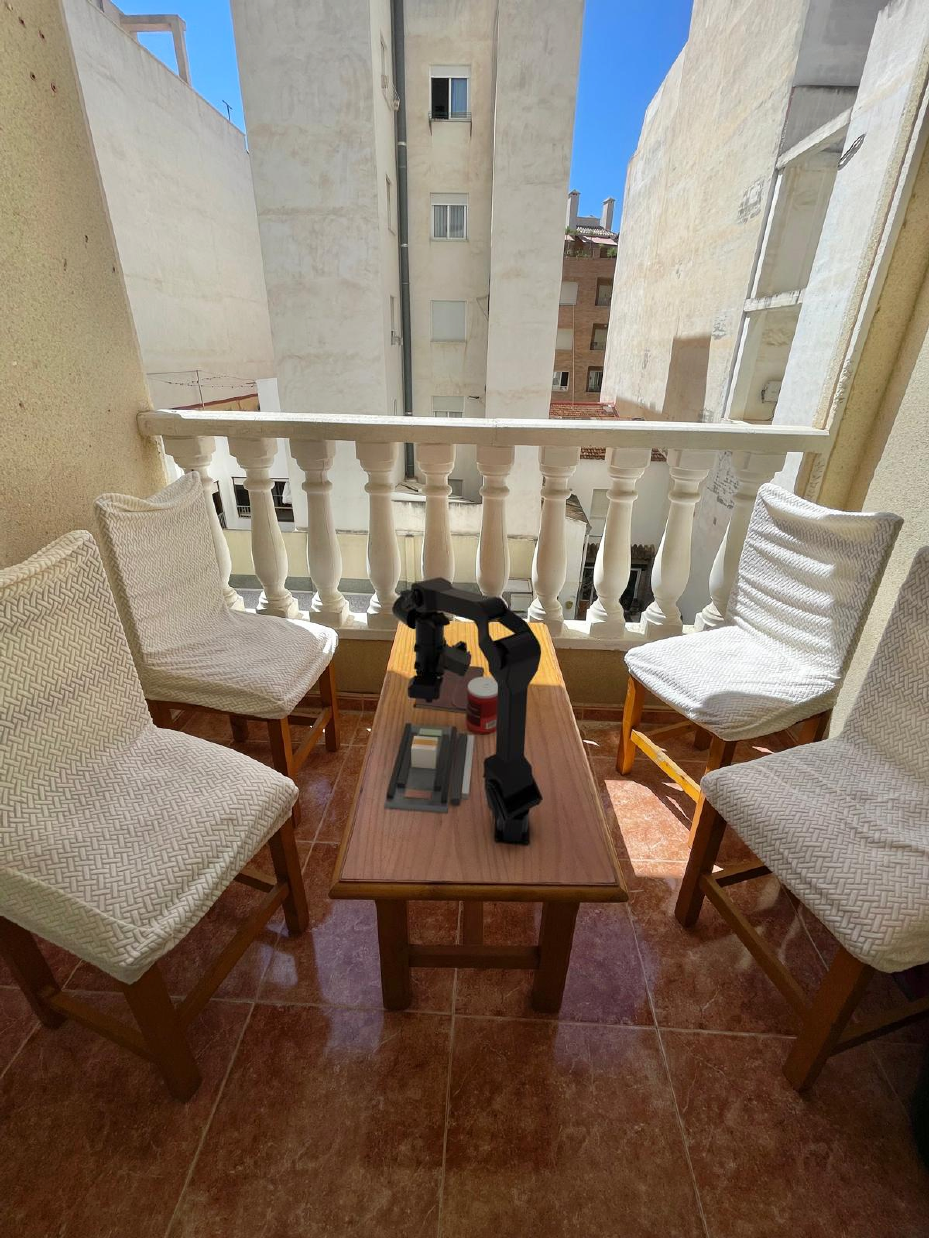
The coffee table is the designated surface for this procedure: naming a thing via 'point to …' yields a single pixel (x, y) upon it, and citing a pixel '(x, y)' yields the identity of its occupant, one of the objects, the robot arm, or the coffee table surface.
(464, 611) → the robot arm
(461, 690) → the notebook
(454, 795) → the long gray rectangular block
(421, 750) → the toggle
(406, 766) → the panel
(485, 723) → the canned food
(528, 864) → the coffee table surface
